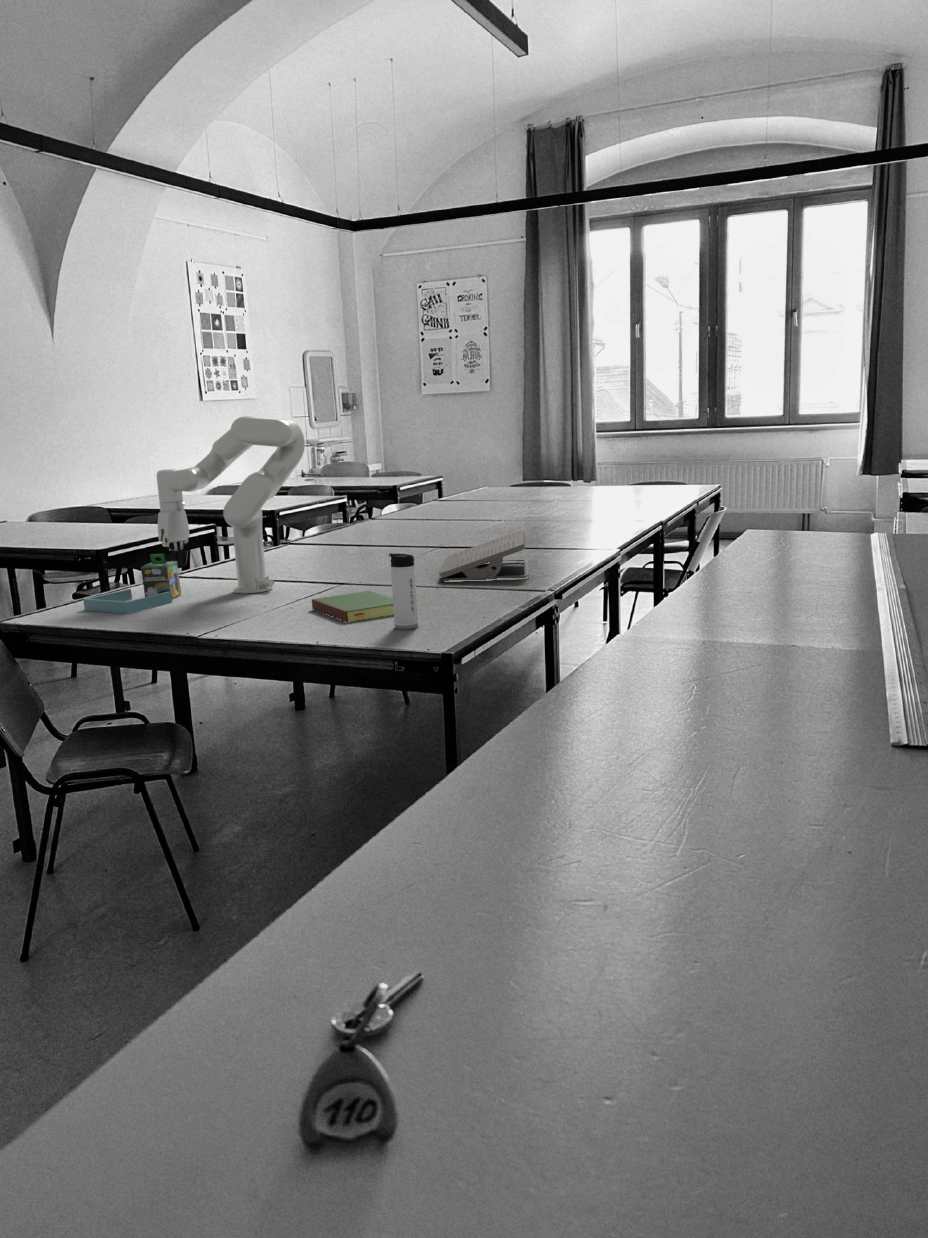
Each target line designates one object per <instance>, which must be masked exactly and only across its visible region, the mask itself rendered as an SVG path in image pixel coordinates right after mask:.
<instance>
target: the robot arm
mask: <svg viewBox="0 0 928 1238" xmlns="http://www.w3.org/2000/svg"><path fill="white" fill-rule="evenodd" d="M305 445H306V441H305V435H304V433H303V431H302V428H301V427H300V425H299V424H298V423H296V422H295V421H294V420H291V419H287V418H286V419H285V418H283V419H274V418H273V419H272V418H270V419H269V418H259V417H258V418H257V417H255V416H249V415H248V416H239V417H237V418H236V419H234V420H233V421H232V423H231V426H230V429H229V430H227V431H226V432H225V433H224V434H222V436H220V437H219V438H218V439H216V440H215V441H214V442H213V444H212V447H211V450H210V451H209V453H208V454H207V455H206V456H205V457H204V458H202V460H201V461H199V462H198V463H196V464H195V466H193V467H188V468H184V469H183V468H182V469H174V468H172V469H161V470H158V471H156V485H157V491H158V492H157V493H158V494H157V495H158V501H159V510H160V511H159V512H158V515H157V516H158V517H157V534H158V535H157V537H158V541H159V542H161V545H162V547H167V548H168V550H169V551H171V552H170V553H171V554H170V555H171V561H177V564H178V563H183V562H184V561H183V553H182V552H183V551H182V550H183V549H184V545H186V544H187V543H189V538H190V528H189V522H188V517H187V513H186V510H185V509H184V508H185V507H184V506H185V502H184V497H183V492H188V493H189V492H195V491H199V490H202V489H204V488H206V487H207V486H209V485H210V484H211V483H212V482H213V481H214V480H215V479H217V478H218V477H220V476H221V474H222V473H223V472H224V471H226V469H227V468H229V467H230V466H231V465H232V464H234V462H235V461H236V460H238V459H239V458H240V457H241V456H242V455H243V454H244V453H246V452H247V451H248V450H249V449H250V448H252V447H253V446H260V447H261V446H265V447H277V448H276V450H274V452H273V453H272V454H271V456H269V458H268V460H267V461H266V462H265V463H264V465H262V467H261V468H260V469H259V470H258V471H255V472H253V473H251V474H249V475H248V476H247V477H246V478H245V479H244V480H243V482H241V484H240V485H239V486H238V487H237V489H236V491H234V493H233V494H232V496H230V498H229V499H228V501H227V502H226V503H225V505H224V508H223V512H222V514H223V518H224V520H225V522H226V523H227V524H228V526H231V527H232V528H233V530H232V531H233V532H232V534H233V535H232V536H233V547H234V557H235V558H234V559H235V567H236V570H235V571H236V578H237V579H236V581H237V586H235V587H234V588H233V592H234V593H237V594H257V593H263V592H268V591H271V590H272V588H273V585H275V582H276V581H275V580H274V579H273V580H272V579H270V577H269V575H267V572H266V561H265V547H264V537H263V509H262V508H263V506H264V505H265V504H266V503H267V501H269V500H271V499H272V498H274V497H275V496H276V495H277V494H278V492H279V491H280V489H281V488H282V486H283V485H284V484H285V483H286V481H287V480H288V479H289V477H290V475H292V473H293V471H295V469H296V468H297V466H298V465H299V463H300V461H301V459H302V458H303V456H304V452H305V447H306V446H305Z"/></svg>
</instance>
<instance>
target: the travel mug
mask: <svg viewBox="0 0 928 1238" xmlns="http://www.w3.org/2000/svg"><path fill="white" fill-rule="evenodd" d="M388 557H389V558H390V568H391V569H390V575H391V576H390V577H391V589H392V598H393V609H394V615H393V621H394V625H393V626H394V629H396V630H399V631H402V630H403V631H406V630H413V628H414V629H417V628H418V627H419V620H418V619H419V617H418V603H417V602H418V601H417V599H418V598H417V583H416V569H415V556H414V555H412V554H410V553H409V554H407V553H393V552H392V553H391V552H390V553H389V554H388Z"/></svg>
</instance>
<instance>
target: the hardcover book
mask: <svg viewBox="0 0 928 1238" xmlns="http://www.w3.org/2000/svg"><path fill="white" fill-rule="evenodd" d="M311 607H312V608H311V609H312V610H313V609H314V610H316V611H315V612H317V611H319V612H321V613H320V614H322V613H324V614H327V615H329V616H328V617H330V616H333V617H334V618H333V619H335V618H338V619H341V620H342V621H341V622H343V621H346V622H348V621H353V622H357V621H356V620H360V619H366V620H369V619H368V618H372V619H377V618H376V617H378V618H381V617H380V616H384V617H388V616H387V615H390V616H392V615H391V614H394V609H393V597H391V596H387V595H384V594H380V593H377V592H373V591H371V590H366V591H360V592H352V593H344V594H338V595H331V596H324V597H320V598H318V597H317V598H311ZM314 610H313V611H314ZM319 612H318V613H319ZM324 614H323V615H324ZM327 615H326V616H327ZM338 619H337V620H338ZM360 621H361V620H360ZM346 622H345V623H346ZM348 623H349V622H348Z"/></svg>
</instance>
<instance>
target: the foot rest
mask: <svg viewBox="0 0 928 1238" xmlns="http://www.w3.org/2000/svg"><path fill="white" fill-rule="evenodd" d="M525 549H526V535H525V531H524V530H518V531H515V532H512V533H509V534H506V535H503V536H501V537H498V538H495V539H492V540H490V541H487V542H484V543H481V544H478V545H476V546H472V547H469V548H467V549H464V550H461V551H458V552H455V553H453V554H450V555H448V556H446V558H445V559H444V561H443V563H442V565H441V567H440V569H439V571H438V575H439V577H440V578H441V579H442V582H443V581H449V580H486V579H497V578H525V577H527V576H529V577H530V569H529V567H530V565H529V560H528V559H525V558H524V559H523V558H519V559H503V558H505V557H508V556H510V555H513V554H516V553H518V552H520V551H523V550H525ZM503 561H524V564H523V565H524V567H523V569H524V570H523V571H524V574H521V575H520V574H519V575H498V574H499V573H500V571H501V569H502V566H503V564H502V562H503ZM488 562H490V563H489V565H485V566H483V565H482V564H485V563H488ZM479 566H483V567H479ZM494 567H495V569H493V568H494ZM461 572H462V573H463V574H464V575H465V576H466V577H450V576H453V575H456V574H459V573H461Z"/></svg>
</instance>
